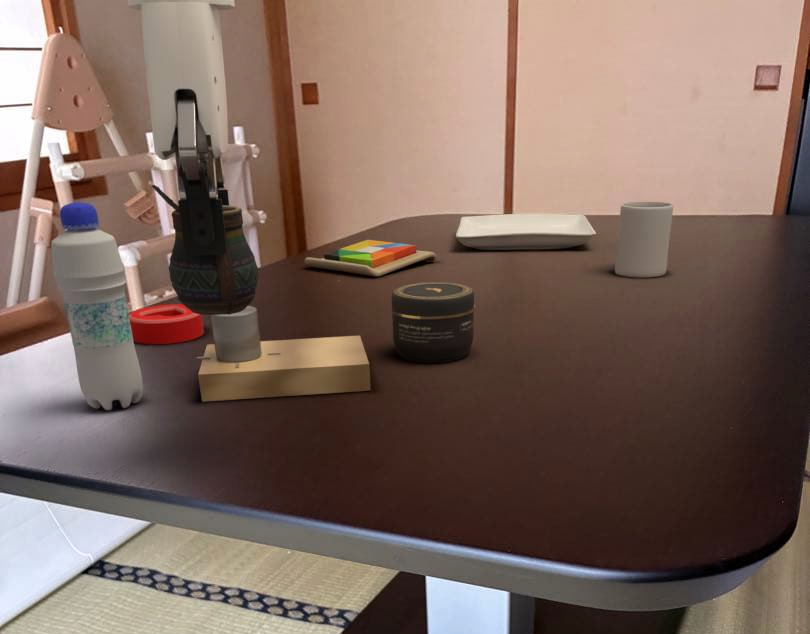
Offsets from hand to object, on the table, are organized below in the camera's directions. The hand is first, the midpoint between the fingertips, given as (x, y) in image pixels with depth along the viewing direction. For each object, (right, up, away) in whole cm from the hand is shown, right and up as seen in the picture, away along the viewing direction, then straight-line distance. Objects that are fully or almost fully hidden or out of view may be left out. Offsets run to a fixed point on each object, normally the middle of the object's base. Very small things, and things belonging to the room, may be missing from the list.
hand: (209, 245), depth 68 cm
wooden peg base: (+2, -6, +27) cm, 27 cm away
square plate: (+41, +39, +108) cm, 122 cm away
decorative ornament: (-16, +4, +46) cm, 49 cm away
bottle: (-15, -10, +21) cm, 28 cm away
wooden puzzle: (+10, +27, +88) cm, 93 cm away
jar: (+19, -1, +35) cm, 40 cm away
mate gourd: (0, -5, +2) cm, 5 cm away
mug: (+56, +22, +77) cm, 98 cm away
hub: (-3, -4, +25) cm, 25 cm away
